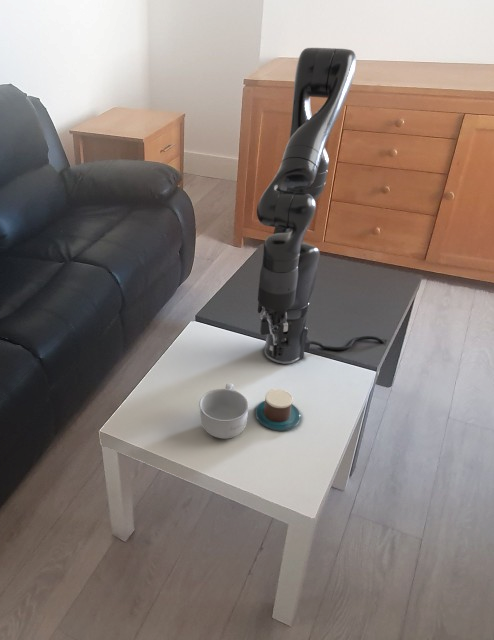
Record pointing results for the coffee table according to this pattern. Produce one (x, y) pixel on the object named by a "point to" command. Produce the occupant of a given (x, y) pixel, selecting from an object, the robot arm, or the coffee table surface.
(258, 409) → the cake plate
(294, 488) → the coffee table surface
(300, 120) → the robot arm
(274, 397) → the cake
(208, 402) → the teacup
